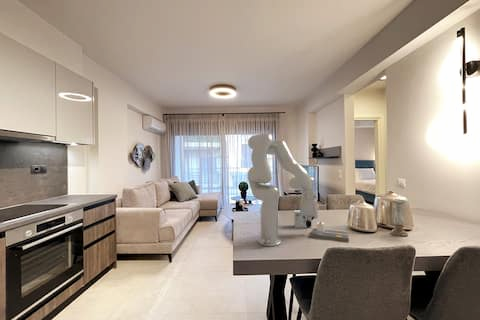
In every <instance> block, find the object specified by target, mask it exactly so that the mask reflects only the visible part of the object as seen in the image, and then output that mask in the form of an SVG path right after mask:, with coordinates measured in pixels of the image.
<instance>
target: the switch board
mask: <svg viewBox="0 0 480 320" xmlns="http://www.w3.org/2000/svg"><path fill="white" fill-rule="evenodd" d="M310 238H312V239H319V238H320V239H321V240H329V241H336V242H347V243H349V242H350V237H349V232H348V231H347V230H338V229H328V228H327V229H326V228H325V231H324V232H323V231H317V227H313V228H312V230H311V233H310Z"/></svg>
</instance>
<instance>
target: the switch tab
mask: <svg viewBox="0 0 480 320" xmlns="http://www.w3.org/2000/svg"><path fill="white" fill-rule="evenodd" d="M316 228H317V231H323V232H324V231H325V229H326V228H325V222H322V221H319V222H318V221H317V223H316Z"/></svg>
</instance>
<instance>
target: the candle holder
mask: <svg viewBox="0 0 480 320" xmlns="http://www.w3.org/2000/svg"><path fill="white" fill-rule="evenodd" d="M390 202H391V203H394V206H395V207H394V210H395V216H394V217H393V221H392V222H393V223H394V225H393V226H394V227H395V228H393V229H392V230H390V232H389V233H390V234H391V235H393V236H398V237H408V236H409V233H408V232H407V231H406V230H405V229H403V228H404V224H405V219H404V218H403V215H402V210H403V208H402V206H403V204H406V203H407V201H406V200H404V199H391V200H390Z"/></svg>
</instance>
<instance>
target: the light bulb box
mask: <svg viewBox="0 0 480 320" xmlns="http://www.w3.org/2000/svg"><path fill="white" fill-rule="evenodd" d="M293 219H294V220H293V221H294V223H293V224H294V227H295V229H312V225H311V226H310V228H309V227H308V228H307V226H306V221H305V219H304V218H302V217H300V209H299V210H295V209H294V210H293ZM309 219H310V216H308V220H309Z"/></svg>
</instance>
